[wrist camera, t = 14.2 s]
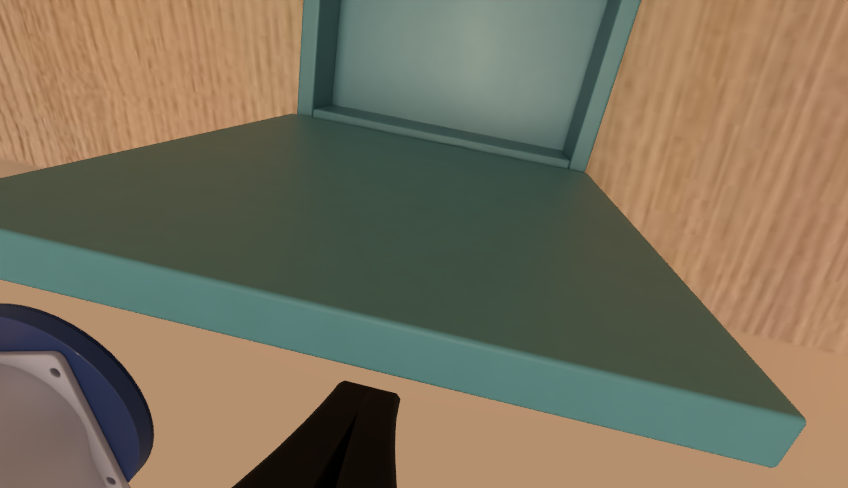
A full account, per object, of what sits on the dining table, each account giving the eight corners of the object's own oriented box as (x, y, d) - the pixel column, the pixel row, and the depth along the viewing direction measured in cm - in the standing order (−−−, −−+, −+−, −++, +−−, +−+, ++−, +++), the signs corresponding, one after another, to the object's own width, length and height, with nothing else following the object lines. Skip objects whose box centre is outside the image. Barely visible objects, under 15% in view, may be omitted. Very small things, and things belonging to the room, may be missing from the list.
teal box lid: (-120, 203, 4) (-102, 257, 4) (812, 423, 4) (777, 471, 4) (291, 112, 13) (290, 133, 13) (588, 173, 12) (581, 193, 12)
